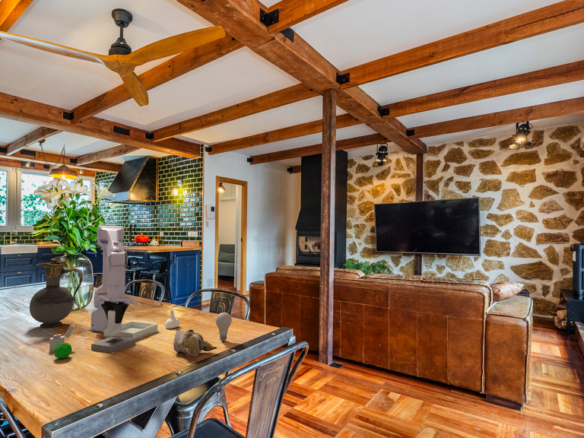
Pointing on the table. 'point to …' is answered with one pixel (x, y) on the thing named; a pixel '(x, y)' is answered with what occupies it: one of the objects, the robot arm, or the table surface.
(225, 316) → the lightbulb
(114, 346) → the collar
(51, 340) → the lighter
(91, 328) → the robot arm
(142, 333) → the tray
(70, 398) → the table surface
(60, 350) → the polyhedron
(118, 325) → the pin
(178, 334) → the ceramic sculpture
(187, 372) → the table surface
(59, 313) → the pitcher
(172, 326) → the garlic bulb
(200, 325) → the table surface
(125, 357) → the table surface
